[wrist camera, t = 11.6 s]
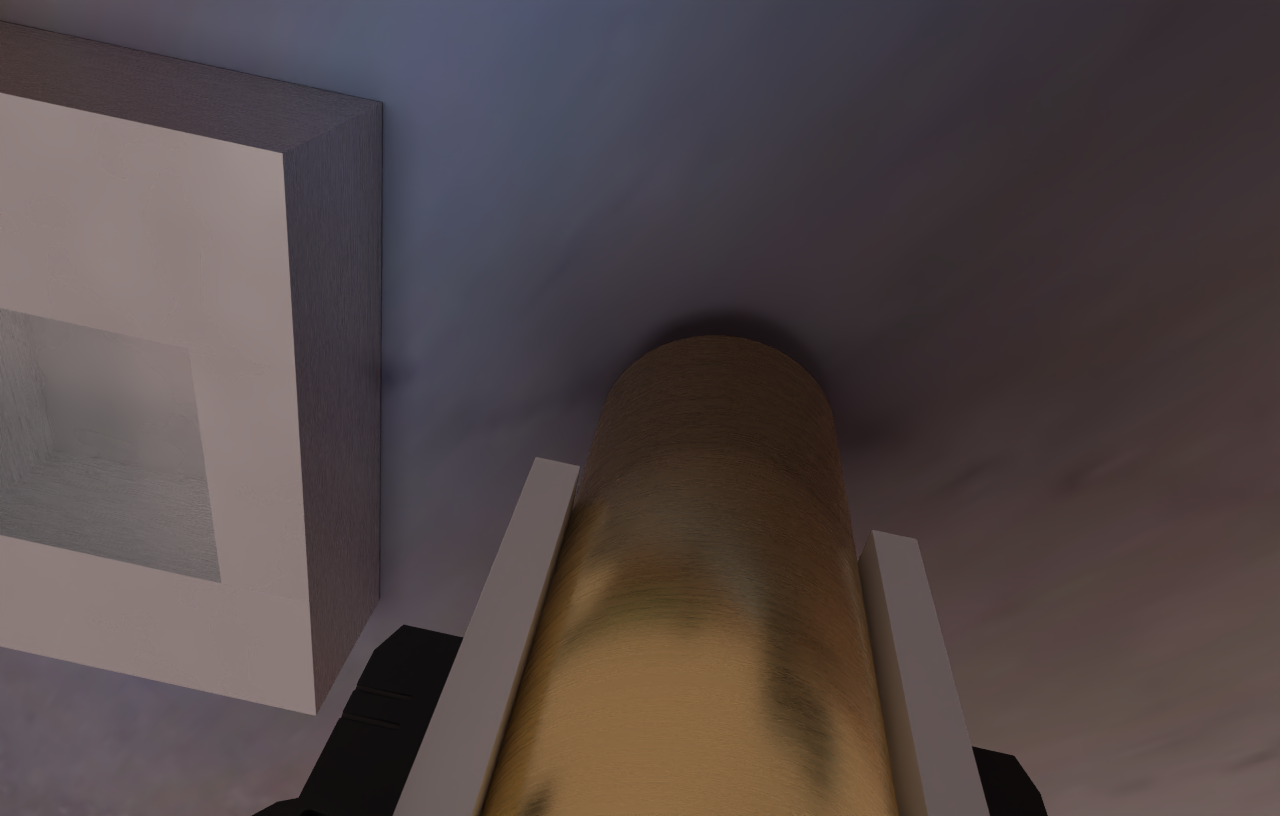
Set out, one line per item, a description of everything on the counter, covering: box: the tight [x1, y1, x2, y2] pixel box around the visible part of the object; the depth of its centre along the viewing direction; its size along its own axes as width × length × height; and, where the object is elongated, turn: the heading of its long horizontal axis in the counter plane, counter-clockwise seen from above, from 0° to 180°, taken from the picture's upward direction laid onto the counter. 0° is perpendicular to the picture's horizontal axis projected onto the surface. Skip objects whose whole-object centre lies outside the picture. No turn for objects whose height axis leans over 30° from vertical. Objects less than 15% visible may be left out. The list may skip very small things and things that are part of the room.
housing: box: [0, 21, 382, 716], centre depth 18 cm, size 14×10×4 cm
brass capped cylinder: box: [481, 335, 899, 816], centre depth 12 cm, size 5×5×12 cm
